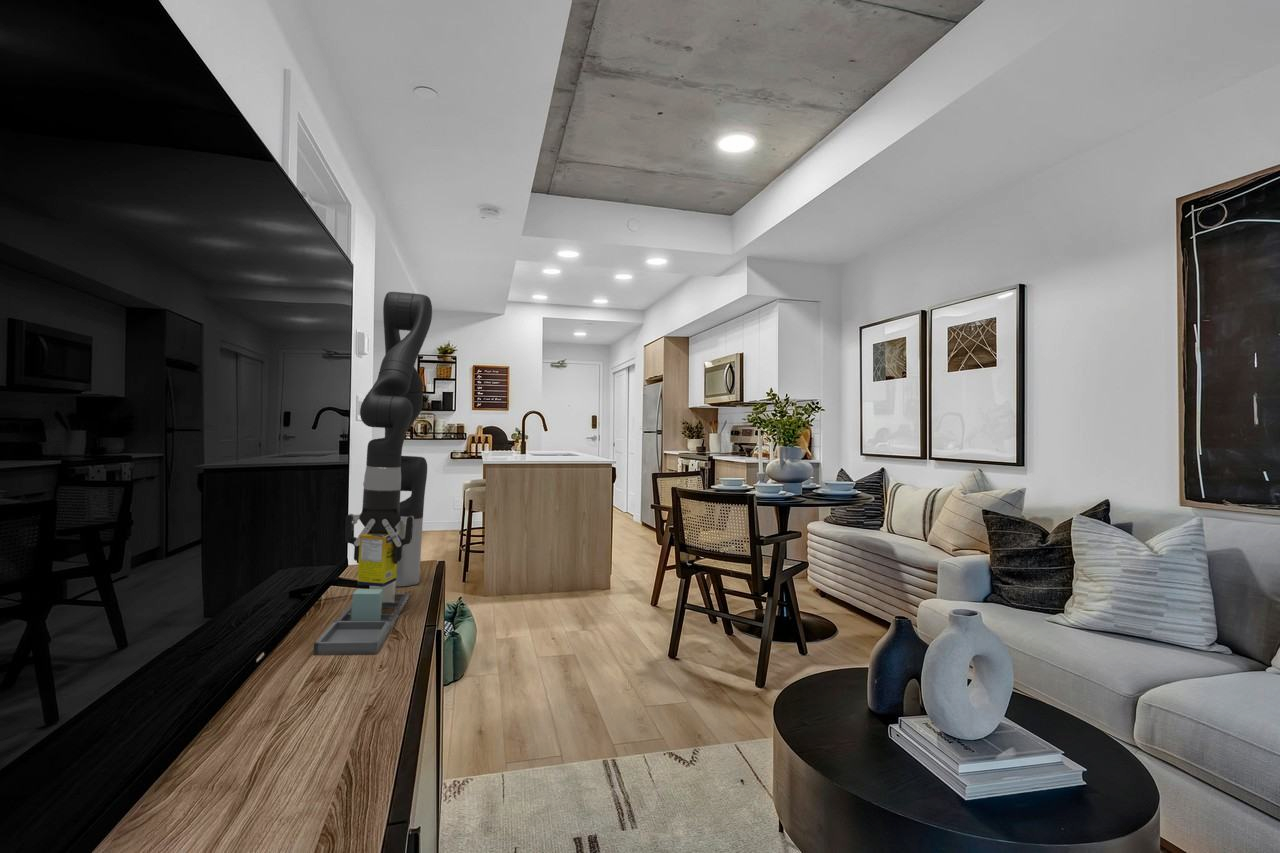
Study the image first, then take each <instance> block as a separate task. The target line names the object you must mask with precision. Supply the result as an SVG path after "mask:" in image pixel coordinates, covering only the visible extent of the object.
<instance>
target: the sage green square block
mask: <svg viewBox="0 0 1280 853" xmlns="http://www.w3.org/2000/svg"><path fill="white" fill-rule="evenodd" d="M382 595H383V589H369V588H357V589H356V590H355V591H354V592H353V593H352V597H351V598H352V599H351V600H352V601H351V603H352V613H351V621H381V614H382V609H383V608H382Z"/></svg>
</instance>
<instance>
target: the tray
mask: <svg viewBox="0 0 1280 853" xmlns="http://www.w3.org/2000/svg"><path fill="white" fill-rule="evenodd" d="M390 632H391V630H390V621H388V620H386V621H336V620H334V621H332V623H331V624H330V625H329V626H328V627H327V628H326V629H325V631H323V633H322V634H321V635H320V636H319V637H318V638H317V639H316V641H315V642H314V643H313V651H312V652H313V653H312V654H313V655H315V656H318V655H319V656H321V655H325V656H326V655H327V656H329V655H331V656H332V655H377V654H378V652H379V650H380V649H381V647H382V645H383V644H384V642H385V640H386V639H387V637H388V635H389V634H390Z"/></svg>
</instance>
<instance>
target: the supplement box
mask: <svg viewBox="0 0 1280 853" xmlns="http://www.w3.org/2000/svg"><path fill="white" fill-rule="evenodd" d="M359 535H360V534H359ZM395 546H396V545H395V543H394V541H393V539H392V538H391V537H390V535H389V534H380V533H378V534H371V533H369V532H368V534H367V535H363V534H361V535H360V545H359V563H357V566H358V567H357V586H380V587H384V586H386V585H388V584H390V583H392V582H394V581H396V571H397V564H394V550H395Z"/></svg>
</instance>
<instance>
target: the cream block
mask: <svg viewBox="0 0 1280 853" xmlns="http://www.w3.org/2000/svg"><path fill="white" fill-rule="evenodd" d="M368 586H369V585H368ZM396 587H397V586H396V581H394V582H392V583H390V584H388V585H386V586H384V587H380V586H369V588H368V589H383V595H382V602H395V601H396V600H395V594H396Z"/></svg>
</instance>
